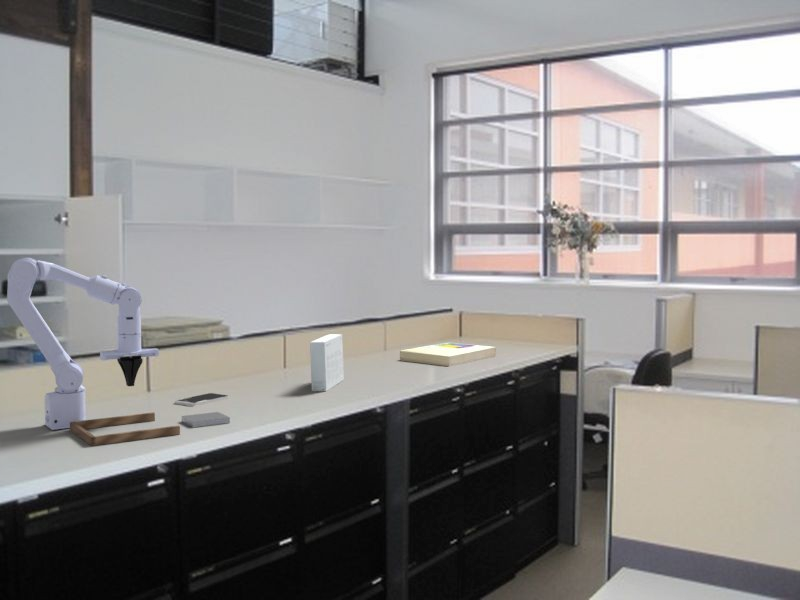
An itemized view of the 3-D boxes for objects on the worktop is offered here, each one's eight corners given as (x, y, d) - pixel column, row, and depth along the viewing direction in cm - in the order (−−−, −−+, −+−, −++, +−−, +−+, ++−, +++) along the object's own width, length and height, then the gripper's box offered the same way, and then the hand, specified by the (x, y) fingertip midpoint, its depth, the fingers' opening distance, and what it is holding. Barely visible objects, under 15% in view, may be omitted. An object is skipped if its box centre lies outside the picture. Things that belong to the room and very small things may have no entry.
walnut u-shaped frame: (91, 446, 189) (91, 437, 189) (70, 429, 205) (70, 422, 205) (179, 434, 202) (179, 426, 202) (153, 419, 217) (153, 412, 217)
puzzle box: (398, 361, 328) (449, 367, 313) (398, 350, 327) (449, 355, 313) (449, 352, 357) (497, 357, 342) (449, 342, 356) (497, 346, 342)
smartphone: (229, 395, 248) (192, 403, 235) (229, 399, 248) (192, 408, 235) (210, 393, 251) (173, 400, 239) (210, 397, 252) (173, 405, 239)
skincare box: (328, 379, 281) (328, 333, 280) (344, 380, 280) (344, 334, 279) (309, 391, 261) (309, 341, 259) (326, 391, 260) (326, 341, 258)
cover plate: (192, 429, 209) (192, 421, 209) (181, 423, 215) (181, 416, 215) (229, 424, 215) (229, 417, 214) (217, 419, 221) (217, 411, 221)
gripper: (105, 336, 206) (106, 390, 207) (162, 333, 214) (163, 385, 215) (97, 334, 212) (98, 386, 213) (153, 330, 220) (153, 381, 221)
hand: (130, 385), depth 214 cm, fingers closed
